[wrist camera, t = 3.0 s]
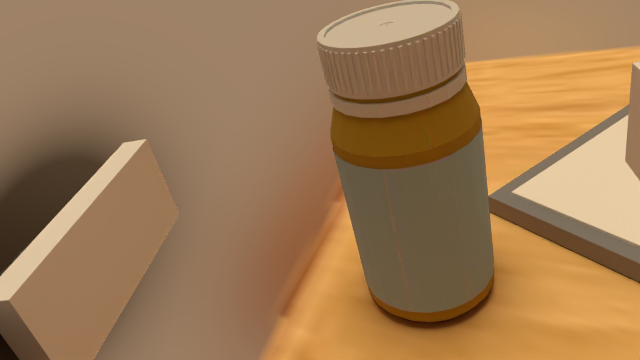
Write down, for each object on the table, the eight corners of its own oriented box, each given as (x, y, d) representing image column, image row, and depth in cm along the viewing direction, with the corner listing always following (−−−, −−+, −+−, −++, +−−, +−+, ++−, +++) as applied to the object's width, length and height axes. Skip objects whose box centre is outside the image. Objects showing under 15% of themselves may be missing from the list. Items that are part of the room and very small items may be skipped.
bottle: (497, 243, 31) (476, -14, 24) (492, 334, 26) (463, 38, 19) (383, 242, 34) (332, 9, 27) (356, 325, 29) (283, 61, 21)
